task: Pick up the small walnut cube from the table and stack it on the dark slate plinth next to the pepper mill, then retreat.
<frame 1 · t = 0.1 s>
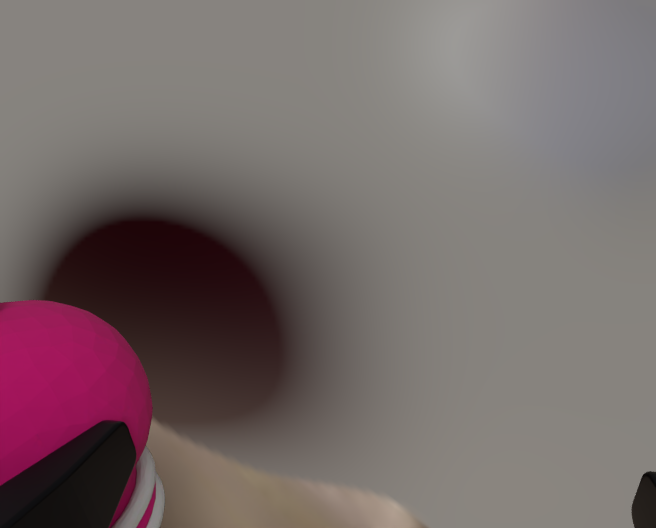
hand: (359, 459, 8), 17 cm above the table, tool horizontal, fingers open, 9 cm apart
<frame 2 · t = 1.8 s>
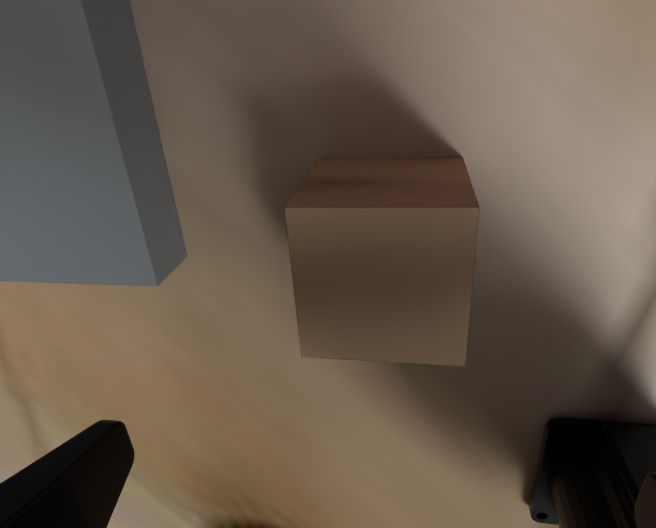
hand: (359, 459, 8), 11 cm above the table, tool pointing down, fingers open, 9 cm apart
walnut cube: (389, 223, 17), on the table
slate plinth: (27, 128, 18), on the table
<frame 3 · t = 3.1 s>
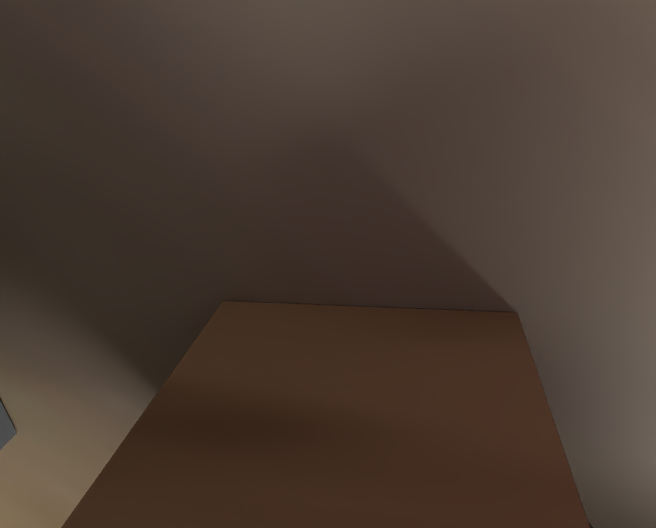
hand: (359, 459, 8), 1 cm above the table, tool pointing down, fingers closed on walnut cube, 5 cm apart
walnut cube: (365, 415, 9), on the table, touching gripper
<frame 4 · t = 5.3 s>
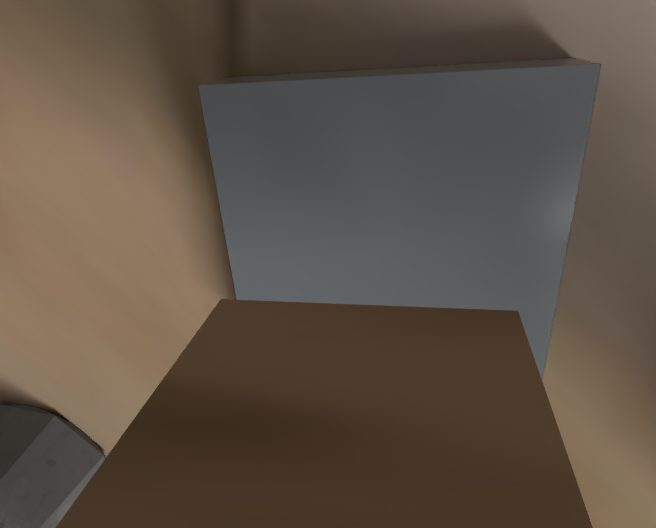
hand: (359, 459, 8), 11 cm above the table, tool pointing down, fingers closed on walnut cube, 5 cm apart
coffeepot: (65, 462, 28), on the table
walnut cube: (364, 414, 9), point 10 cm above the table, touching gripper
slate plinth: (389, 226, 17), on the table
when the fingers open (4 cm above the table, at t = 6.7 s): walnut cube stays where it is, resting on slate plinth.
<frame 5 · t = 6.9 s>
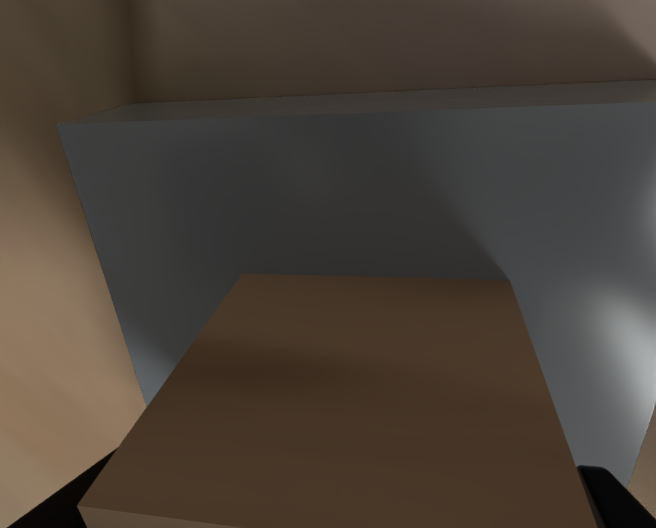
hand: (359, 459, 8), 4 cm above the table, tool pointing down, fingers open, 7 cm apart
walnut cube: (371, 380, 10), point 2 cm above the table, touching slate plinth
slate plinth: (377, 316, 12), on the table
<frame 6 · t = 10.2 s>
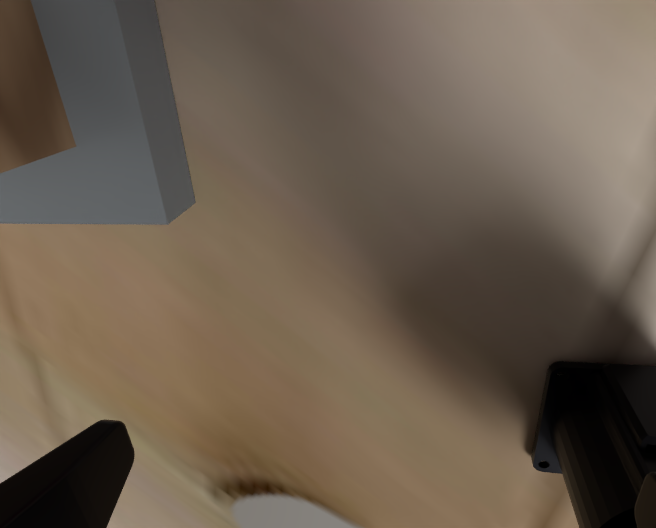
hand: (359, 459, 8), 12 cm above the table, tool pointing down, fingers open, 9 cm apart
slate plinth: (41, 72, 18), on the table
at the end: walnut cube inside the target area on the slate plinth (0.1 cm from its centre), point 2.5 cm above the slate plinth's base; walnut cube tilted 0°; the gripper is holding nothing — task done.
